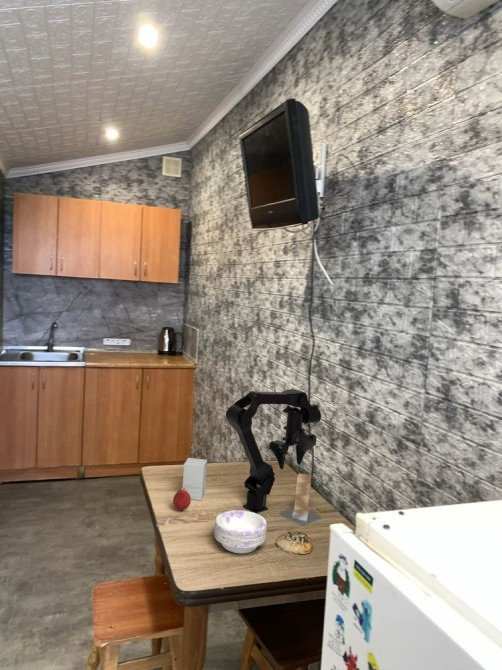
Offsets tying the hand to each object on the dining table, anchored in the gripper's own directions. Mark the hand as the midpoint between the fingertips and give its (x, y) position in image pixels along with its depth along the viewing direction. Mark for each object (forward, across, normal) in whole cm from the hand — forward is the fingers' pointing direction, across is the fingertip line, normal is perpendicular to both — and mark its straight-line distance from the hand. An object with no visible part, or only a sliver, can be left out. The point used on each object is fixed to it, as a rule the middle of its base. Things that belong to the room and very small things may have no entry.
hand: (290, 466), depth 181 cm
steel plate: (+13, -5, -11) cm, 18 cm away
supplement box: (+13, -26, +22) cm, 37 cm away
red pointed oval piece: (+13, -37, +14) cm, 42 cm away
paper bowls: (+13, -36, -14) cm, 41 cm away
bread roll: (+14, -22, -24) cm, 35 cm away
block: (+12, -5, -11) cm, 17 cm away
